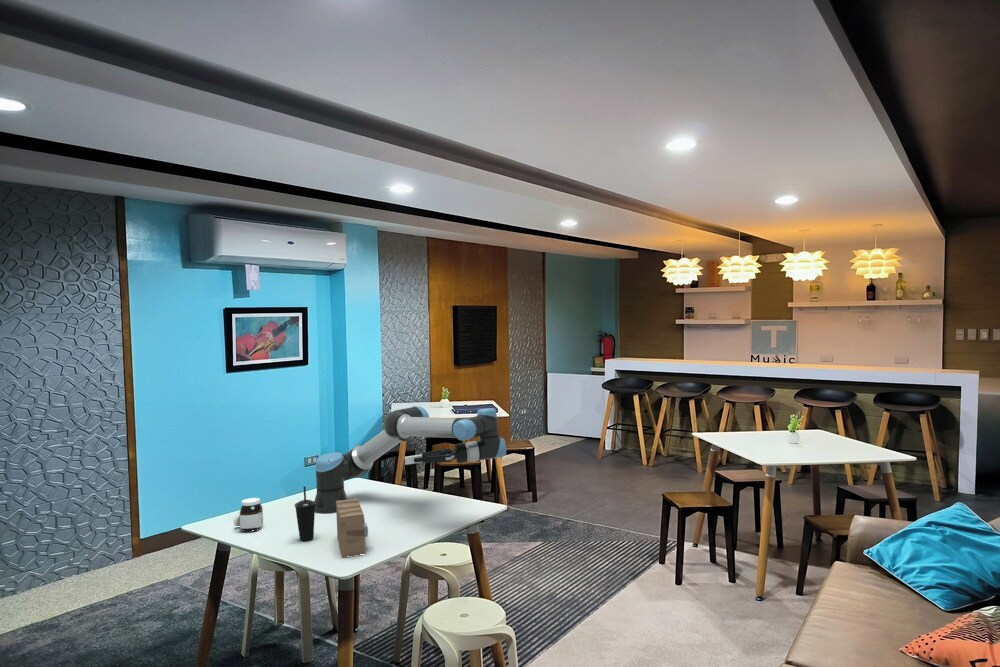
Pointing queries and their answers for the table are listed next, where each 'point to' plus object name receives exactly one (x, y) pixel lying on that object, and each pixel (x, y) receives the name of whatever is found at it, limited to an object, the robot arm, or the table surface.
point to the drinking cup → (305, 518)
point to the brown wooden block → (350, 527)
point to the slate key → (365, 529)
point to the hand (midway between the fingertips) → (405, 460)
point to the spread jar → (250, 515)
